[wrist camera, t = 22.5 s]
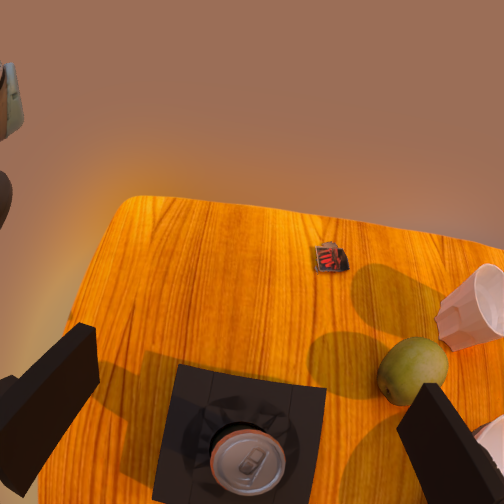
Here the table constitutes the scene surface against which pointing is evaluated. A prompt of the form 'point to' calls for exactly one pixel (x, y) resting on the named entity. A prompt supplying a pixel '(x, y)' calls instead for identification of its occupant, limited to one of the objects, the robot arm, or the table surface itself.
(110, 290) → the table surface
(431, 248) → the table surface
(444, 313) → the cup
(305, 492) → the socket pad
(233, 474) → the beer can
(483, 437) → the bowl
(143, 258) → the table surface
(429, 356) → the apple
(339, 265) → the matchbox
